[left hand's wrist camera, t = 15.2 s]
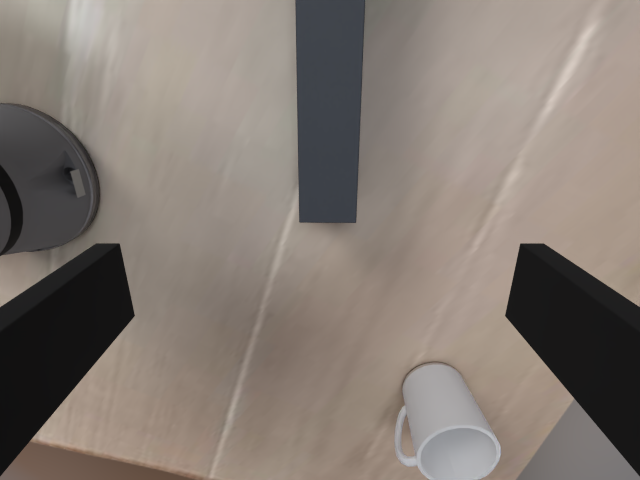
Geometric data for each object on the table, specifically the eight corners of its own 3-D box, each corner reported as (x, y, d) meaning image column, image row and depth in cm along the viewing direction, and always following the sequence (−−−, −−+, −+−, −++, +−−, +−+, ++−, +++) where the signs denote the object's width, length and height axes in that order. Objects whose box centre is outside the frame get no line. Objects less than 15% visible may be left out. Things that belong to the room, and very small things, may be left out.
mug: (456, 349, 47) (490, 414, 38) (473, 401, 50) (508, 473, 40) (374, 375, 49) (386, 443, 39) (395, 423, 52) (411, 498, 42)
